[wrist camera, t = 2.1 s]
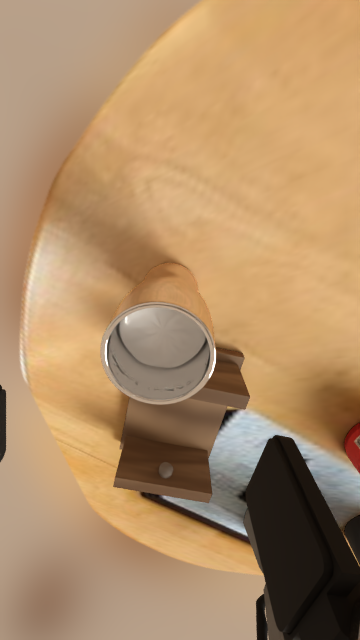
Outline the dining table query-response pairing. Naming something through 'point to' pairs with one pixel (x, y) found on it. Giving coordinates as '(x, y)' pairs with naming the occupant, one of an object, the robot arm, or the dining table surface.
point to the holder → (179, 435)
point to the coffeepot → (262, 596)
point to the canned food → (353, 446)
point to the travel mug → (354, 536)
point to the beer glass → (160, 339)
